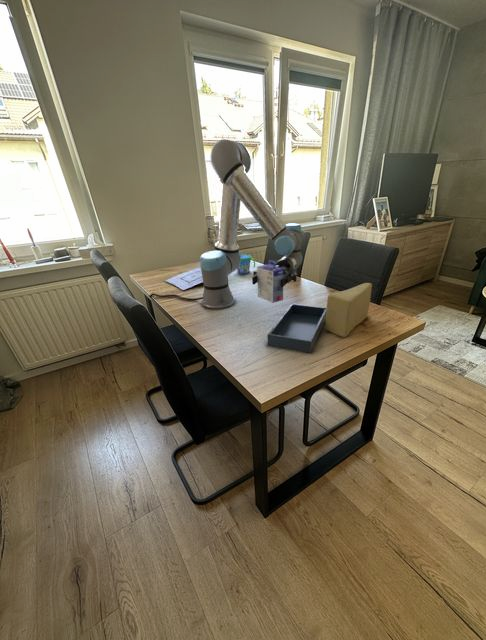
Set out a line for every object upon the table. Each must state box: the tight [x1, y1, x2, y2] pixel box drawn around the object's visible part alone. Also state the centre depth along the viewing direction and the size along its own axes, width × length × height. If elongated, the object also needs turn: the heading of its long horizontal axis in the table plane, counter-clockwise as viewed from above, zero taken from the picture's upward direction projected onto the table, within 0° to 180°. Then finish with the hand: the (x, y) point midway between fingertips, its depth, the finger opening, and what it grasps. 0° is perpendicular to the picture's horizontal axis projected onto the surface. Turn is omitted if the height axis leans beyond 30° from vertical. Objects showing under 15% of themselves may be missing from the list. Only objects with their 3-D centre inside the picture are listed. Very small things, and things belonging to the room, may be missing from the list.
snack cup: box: [236, 254, 256, 275], centre depth 175 cm, size 16×10×10 cm
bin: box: [266, 303, 327, 354], centre depth 108 cm, size 16×30×4 cm, turn 158°
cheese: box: [324, 282, 373, 338], centre depth 107 cm, size 22×10×15 cm, turn 131°
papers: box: [165, 266, 203, 291], centre depth 167 cm, size 24×30×4 cm
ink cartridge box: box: [256, 259, 284, 304], centre depth 106 cm, size 10×6×14 cm, turn 39°
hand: (267, 282), depth 103 cm, fingers closed on ink cartridge box, 11 cm apart
